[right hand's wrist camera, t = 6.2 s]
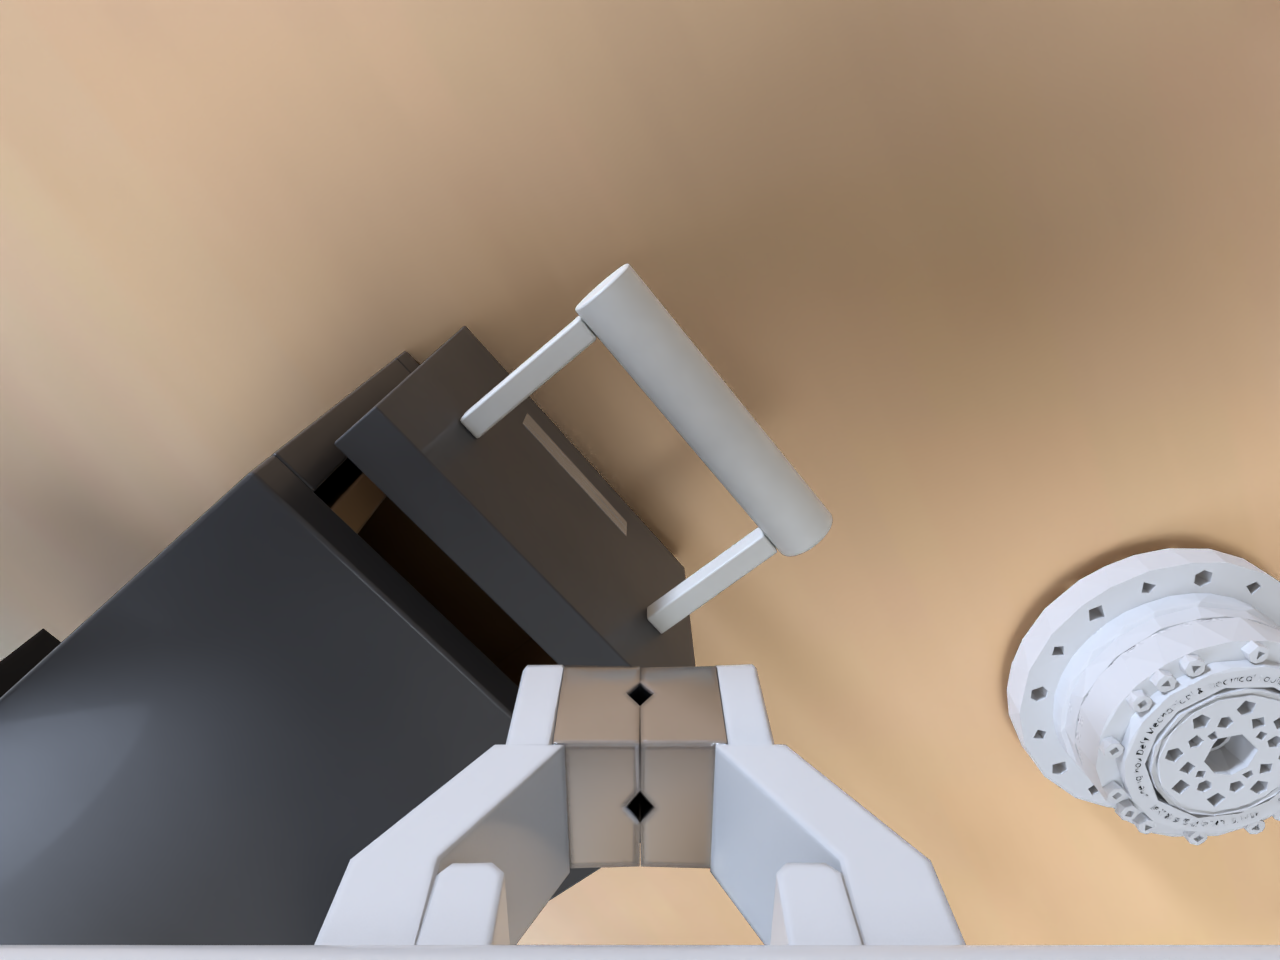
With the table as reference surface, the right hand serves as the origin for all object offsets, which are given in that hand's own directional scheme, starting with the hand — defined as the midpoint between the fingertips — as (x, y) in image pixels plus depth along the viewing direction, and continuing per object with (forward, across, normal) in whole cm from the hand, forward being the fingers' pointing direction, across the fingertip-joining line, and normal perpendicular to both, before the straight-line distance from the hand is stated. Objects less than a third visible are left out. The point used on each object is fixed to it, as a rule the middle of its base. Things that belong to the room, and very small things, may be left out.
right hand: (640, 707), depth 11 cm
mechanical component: (+15, +18, -10) cm, 26 cm away
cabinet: (+15, -10, -8) cm, 20 cm away
